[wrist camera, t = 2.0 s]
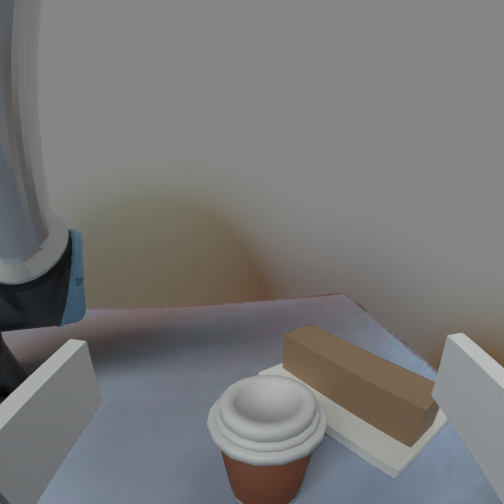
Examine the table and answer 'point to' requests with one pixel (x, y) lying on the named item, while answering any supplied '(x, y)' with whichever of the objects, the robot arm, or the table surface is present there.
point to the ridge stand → (364, 398)
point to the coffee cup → (266, 436)
